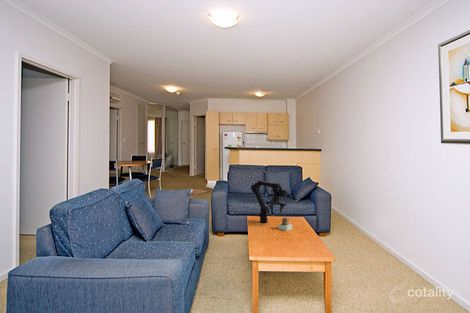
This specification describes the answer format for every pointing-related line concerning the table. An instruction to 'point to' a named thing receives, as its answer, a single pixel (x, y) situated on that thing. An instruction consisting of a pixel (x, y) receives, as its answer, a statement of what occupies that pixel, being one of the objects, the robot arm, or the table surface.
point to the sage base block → (285, 227)
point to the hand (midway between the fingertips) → (275, 212)
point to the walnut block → (285, 221)
